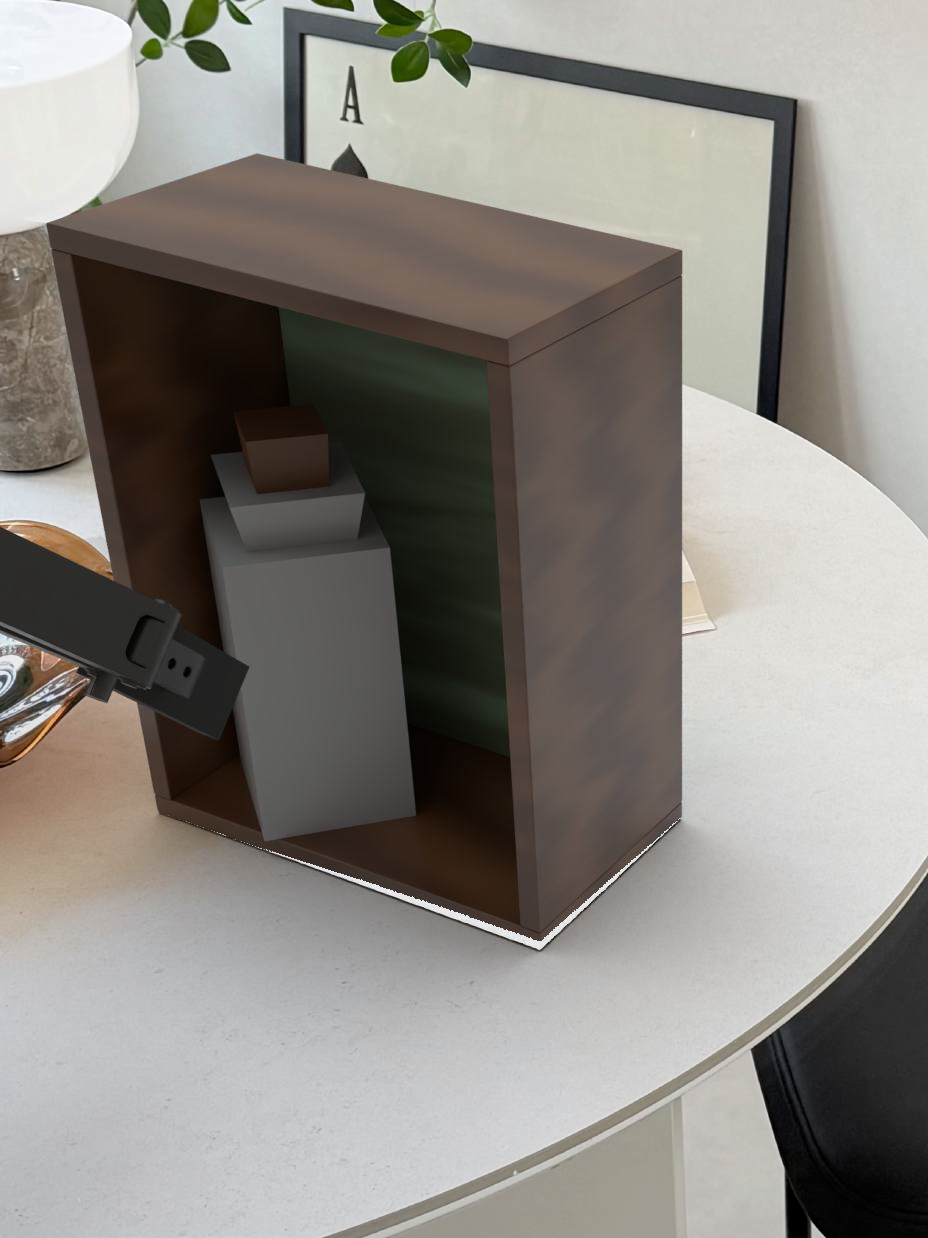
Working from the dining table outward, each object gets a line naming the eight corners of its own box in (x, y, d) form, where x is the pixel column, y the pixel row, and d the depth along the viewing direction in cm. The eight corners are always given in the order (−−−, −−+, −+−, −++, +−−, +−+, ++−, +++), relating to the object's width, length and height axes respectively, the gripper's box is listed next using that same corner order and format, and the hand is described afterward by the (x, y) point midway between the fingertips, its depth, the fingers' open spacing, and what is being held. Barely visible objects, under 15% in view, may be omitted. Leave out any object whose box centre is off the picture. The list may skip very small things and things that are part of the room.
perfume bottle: (416, 815, 90) (379, 446, 79) (264, 841, 87) (206, 463, 77) (385, 741, 95) (347, 384, 84) (241, 764, 92) (183, 399, 82)
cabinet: (540, 952, 84) (507, 338, 68) (157, 812, 90) (45, 222, 75) (682, 818, 93) (683, 249, 77) (324, 700, 99) (256, 152, 83)
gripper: (-50, 332, 45) (405, 642, 65) (-755, 136, 52) (-152, 468, 72) (-184, 632, 44) (319, 852, 64) (-881, 389, 51) (-235, 653, 72)
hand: (70, 648), depth 68 cm, fingers open, 13 cm apart
